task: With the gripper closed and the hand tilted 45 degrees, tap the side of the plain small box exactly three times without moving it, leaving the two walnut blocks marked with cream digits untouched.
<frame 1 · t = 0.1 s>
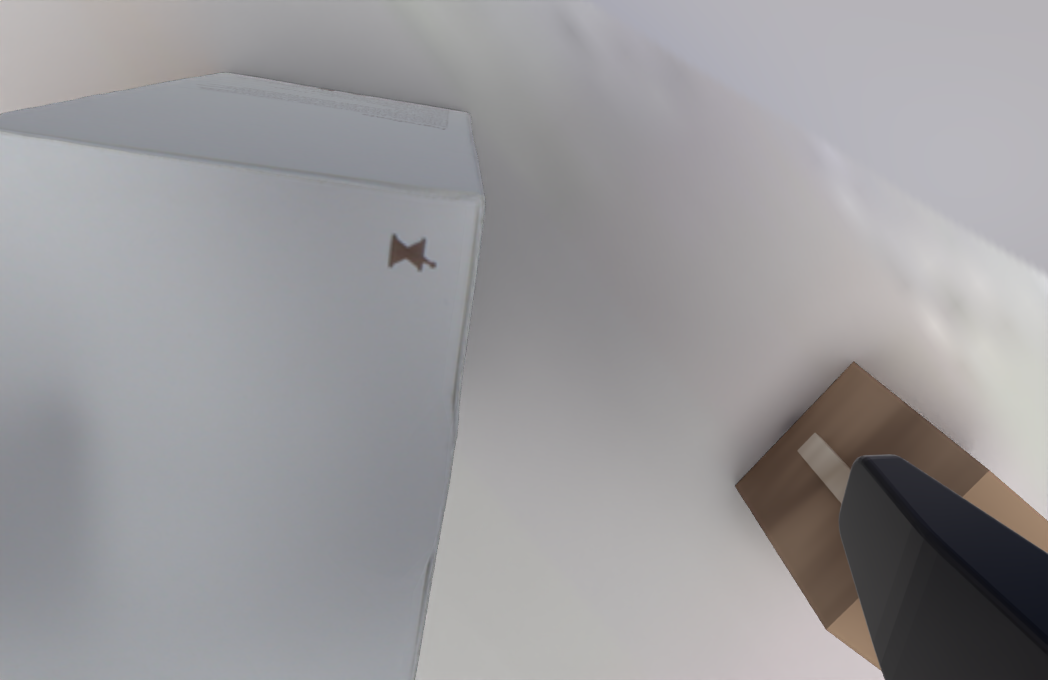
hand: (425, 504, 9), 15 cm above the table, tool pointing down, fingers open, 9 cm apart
walnut block one: (850, 471, 27), on the table
small box: (334, 244, 24), on the table
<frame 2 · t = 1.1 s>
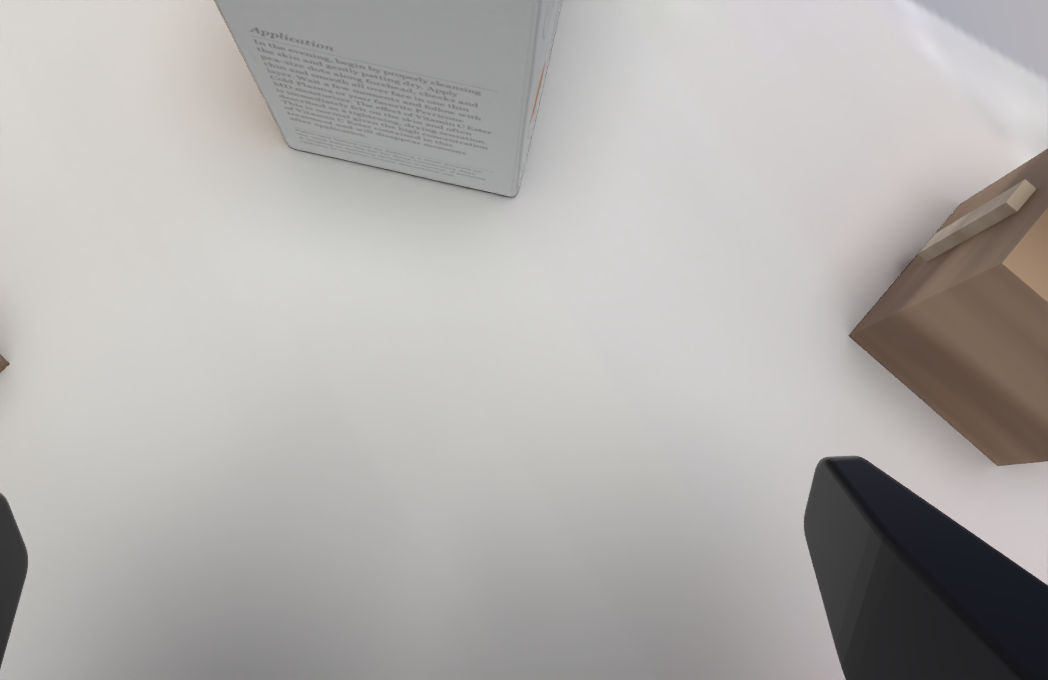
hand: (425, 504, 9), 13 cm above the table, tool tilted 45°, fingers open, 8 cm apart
walnut block one: (977, 331, 24), on the table
small box: (433, 45, 25), on the table
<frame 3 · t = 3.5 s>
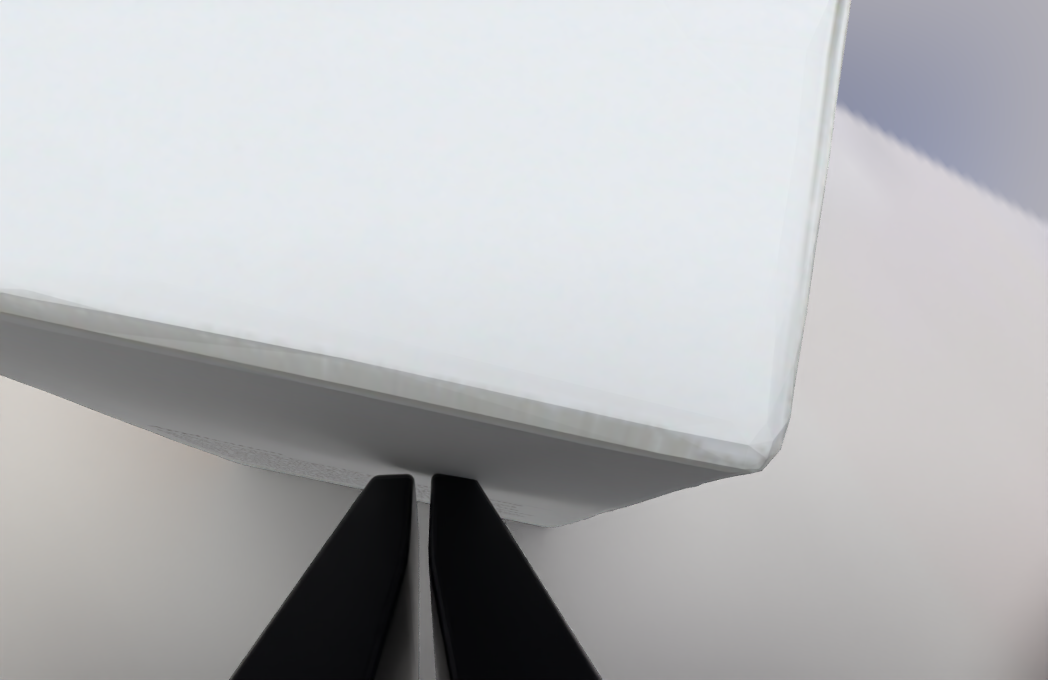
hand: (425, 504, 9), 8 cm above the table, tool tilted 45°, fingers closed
small box: (439, 302, 18), on the table, touching gripper
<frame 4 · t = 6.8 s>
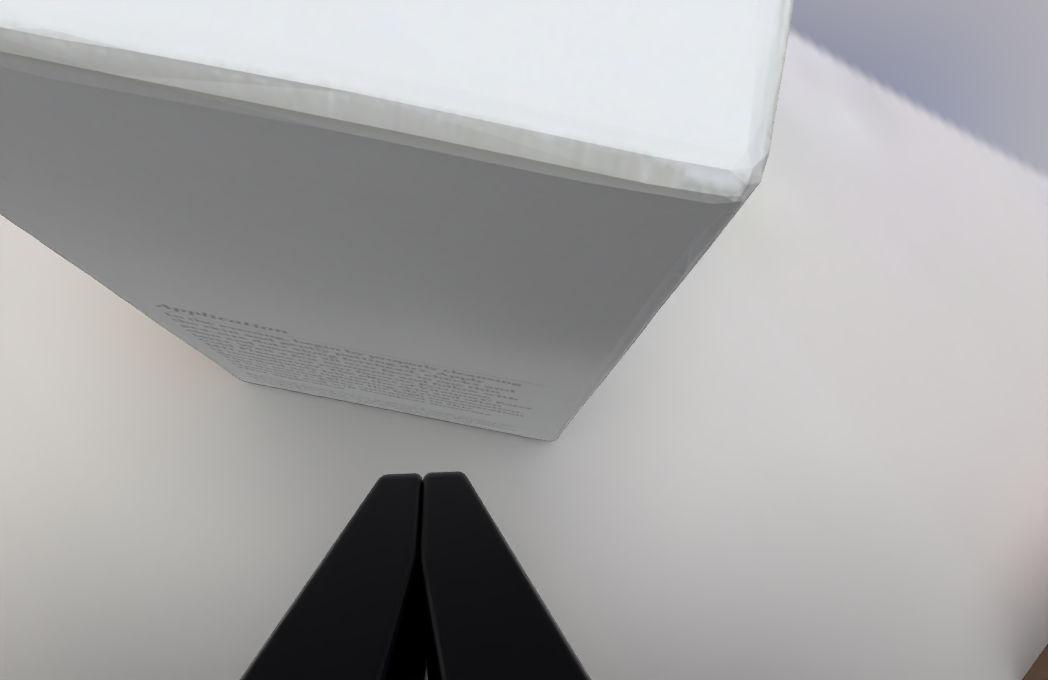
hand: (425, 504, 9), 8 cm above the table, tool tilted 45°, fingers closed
small box: (438, 226, 18), on the table
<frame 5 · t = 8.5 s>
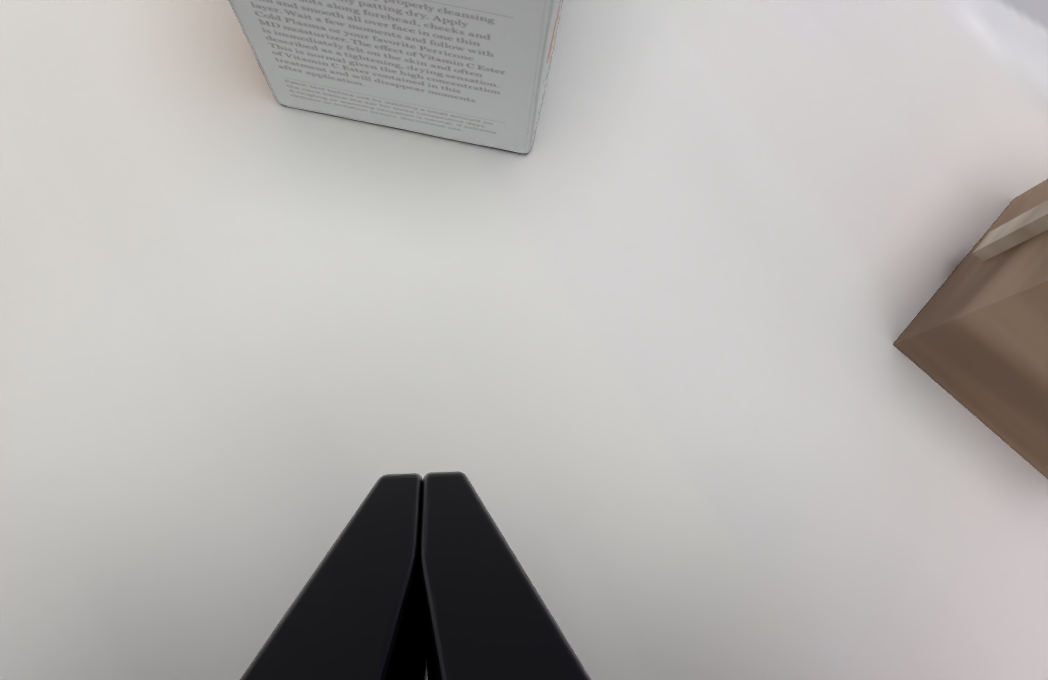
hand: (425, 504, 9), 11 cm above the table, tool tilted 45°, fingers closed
walnut block one: (1035, 339, 22), on the table
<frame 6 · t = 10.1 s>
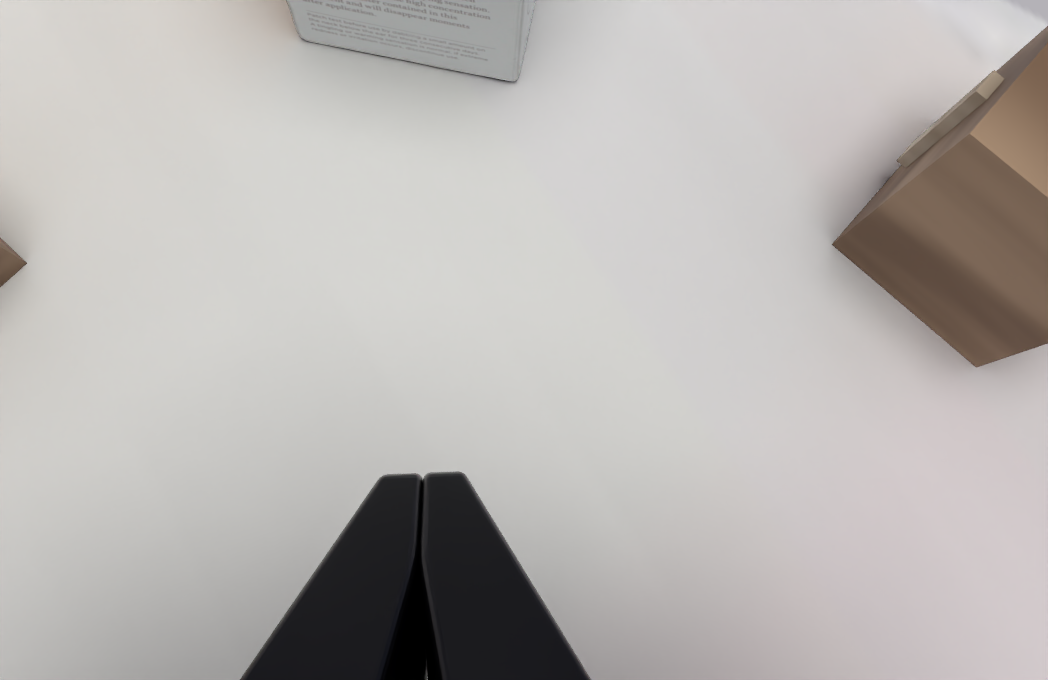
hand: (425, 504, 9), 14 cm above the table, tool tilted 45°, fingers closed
walnut block one: (956, 241, 25), on the table
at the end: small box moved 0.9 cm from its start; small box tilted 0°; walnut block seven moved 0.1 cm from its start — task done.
